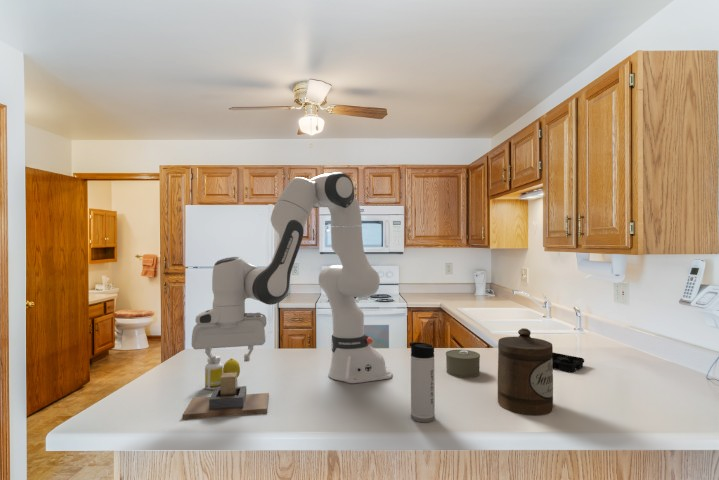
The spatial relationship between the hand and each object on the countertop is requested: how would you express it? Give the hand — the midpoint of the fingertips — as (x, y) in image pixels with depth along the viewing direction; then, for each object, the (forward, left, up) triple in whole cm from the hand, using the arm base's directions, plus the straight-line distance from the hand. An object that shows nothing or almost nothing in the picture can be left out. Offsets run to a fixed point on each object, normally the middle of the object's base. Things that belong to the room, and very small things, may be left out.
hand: (230, 362), depth 117 cm
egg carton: (-114, -24, -13) cm, 118 cm away
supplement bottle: (+7, -18, -13) cm, 23 cm away
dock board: (0, 0, -13) cm, 13 cm away
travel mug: (-52, +17, -13) cm, 56 cm away
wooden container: (-84, +14, -13) cm, 86 cm away
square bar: (0, 0, -12) cm, 12 cm away
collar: (0, 0, -12) cm, 12 cm away
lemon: (+2, -22, -13) cm, 25 cm away
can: (-79, -17, -13) cm, 81 cm away
